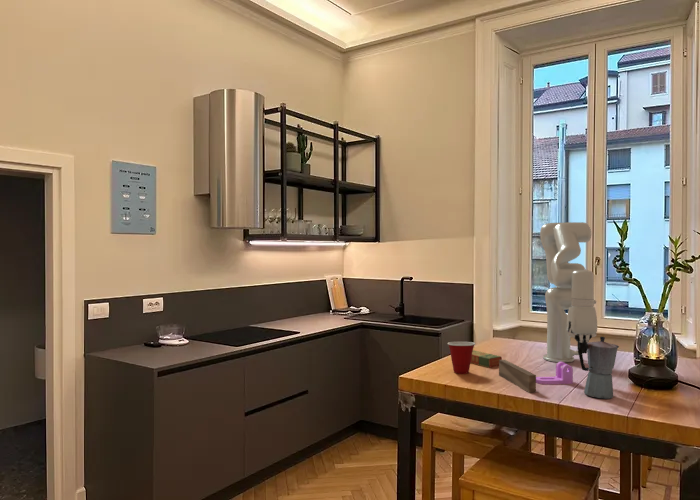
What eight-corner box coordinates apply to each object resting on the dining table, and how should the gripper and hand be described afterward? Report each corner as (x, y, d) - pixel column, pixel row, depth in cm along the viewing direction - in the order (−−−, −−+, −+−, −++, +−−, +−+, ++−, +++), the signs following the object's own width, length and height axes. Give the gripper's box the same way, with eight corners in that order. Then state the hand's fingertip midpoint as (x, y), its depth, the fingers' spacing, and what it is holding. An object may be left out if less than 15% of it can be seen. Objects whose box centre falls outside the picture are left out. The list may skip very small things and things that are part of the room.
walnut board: (505, 374, 209) (505, 359, 208) (535, 392, 185) (536, 375, 185) (498, 375, 208) (499, 359, 208) (529, 392, 184) (529, 375, 184)
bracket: (565, 379, 202) (565, 361, 202) (572, 383, 196) (572, 365, 196) (531, 380, 201) (532, 362, 201) (538, 384, 195) (538, 365, 195)
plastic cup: (468, 368, 219) (468, 339, 219) (479, 375, 209) (479, 344, 208) (443, 369, 217) (443, 339, 217) (452, 376, 207) (453, 345, 207)
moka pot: (627, 398, 179) (628, 338, 178) (589, 402, 174) (589, 340, 174) (606, 390, 188) (607, 333, 187) (569, 393, 183) (569, 335, 183)
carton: (473, 358, 238) (473, 349, 238) (502, 365, 225) (502, 355, 225) (459, 361, 233) (460, 351, 233) (489, 368, 220) (489, 358, 220)
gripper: (594, 302, 205) (594, 350, 205) (558, 302, 202) (558, 351, 202) (607, 304, 197) (607, 354, 197) (569, 304, 195) (569, 355, 195)
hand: (582, 352), depth 200 cm, fingers closed
